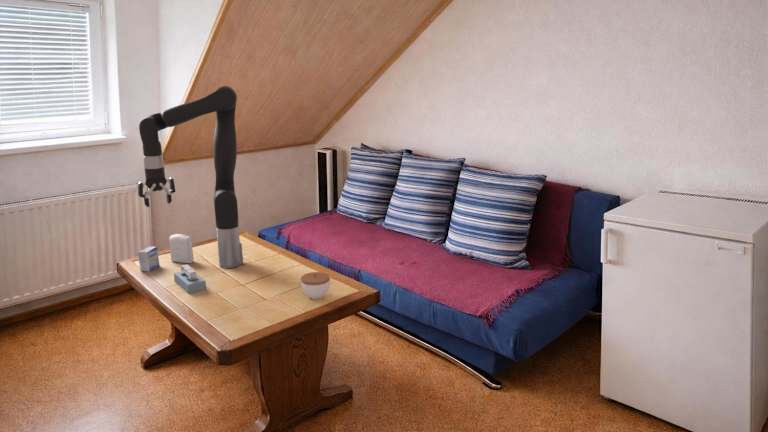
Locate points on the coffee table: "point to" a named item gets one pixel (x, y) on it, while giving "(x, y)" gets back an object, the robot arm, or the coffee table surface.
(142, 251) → the medicine box
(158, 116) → the robot arm
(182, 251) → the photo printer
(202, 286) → the blue-grey slotted block
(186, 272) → the metal block
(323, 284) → the lidded jar
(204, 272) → the coffee table surface
